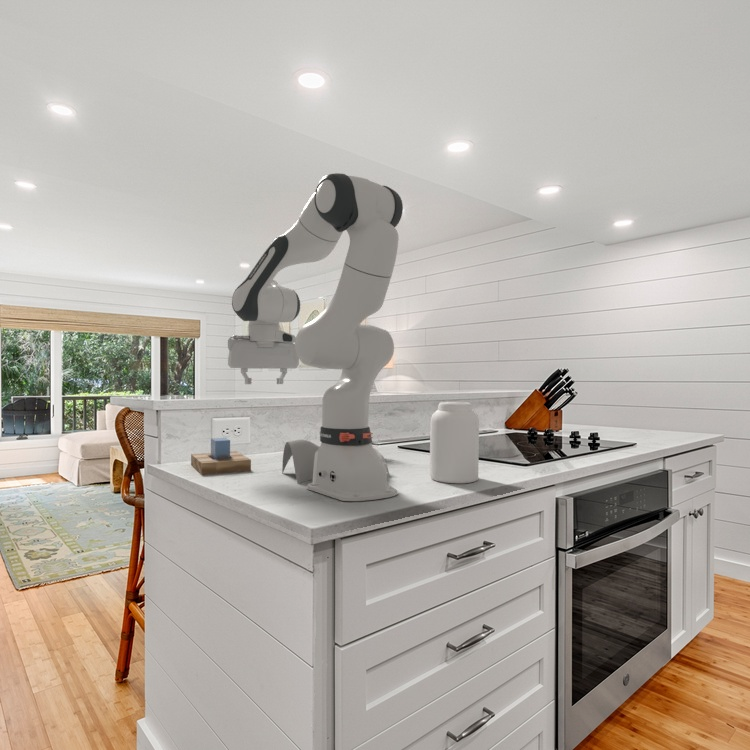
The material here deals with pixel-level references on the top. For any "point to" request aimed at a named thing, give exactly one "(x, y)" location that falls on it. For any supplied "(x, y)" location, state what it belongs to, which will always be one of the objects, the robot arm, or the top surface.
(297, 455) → the sculpture
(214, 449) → the block
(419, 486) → the top surface
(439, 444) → the white lidded jar
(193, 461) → the wooden base block
